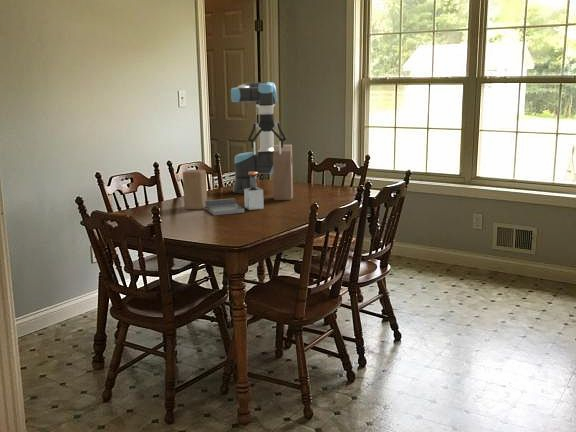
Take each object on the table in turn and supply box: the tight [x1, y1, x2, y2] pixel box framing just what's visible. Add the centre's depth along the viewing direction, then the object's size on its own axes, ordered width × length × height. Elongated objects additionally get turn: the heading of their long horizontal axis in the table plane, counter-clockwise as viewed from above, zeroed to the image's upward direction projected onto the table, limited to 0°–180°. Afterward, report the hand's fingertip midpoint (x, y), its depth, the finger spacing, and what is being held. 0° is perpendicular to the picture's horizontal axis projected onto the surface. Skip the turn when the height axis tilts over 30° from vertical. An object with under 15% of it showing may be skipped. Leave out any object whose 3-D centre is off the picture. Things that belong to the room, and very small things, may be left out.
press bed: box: [205, 197, 245, 216], centre depth 330 cm, size 18×16×4 cm
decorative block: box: [272, 144, 294, 201], centre depth 357 cm, size 10×10×30 cm
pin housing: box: [243, 186, 265, 211], centre depth 334 cm, size 8×8×10 cm
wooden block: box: [182, 169, 208, 211], centre depth 337 cm, size 10×10×20 cm
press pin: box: [248, 172, 259, 190], centre depth 333 cm, size 5×5×11 cm
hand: (267, 154), depth 337 cm, fingers open, 13 cm apart
